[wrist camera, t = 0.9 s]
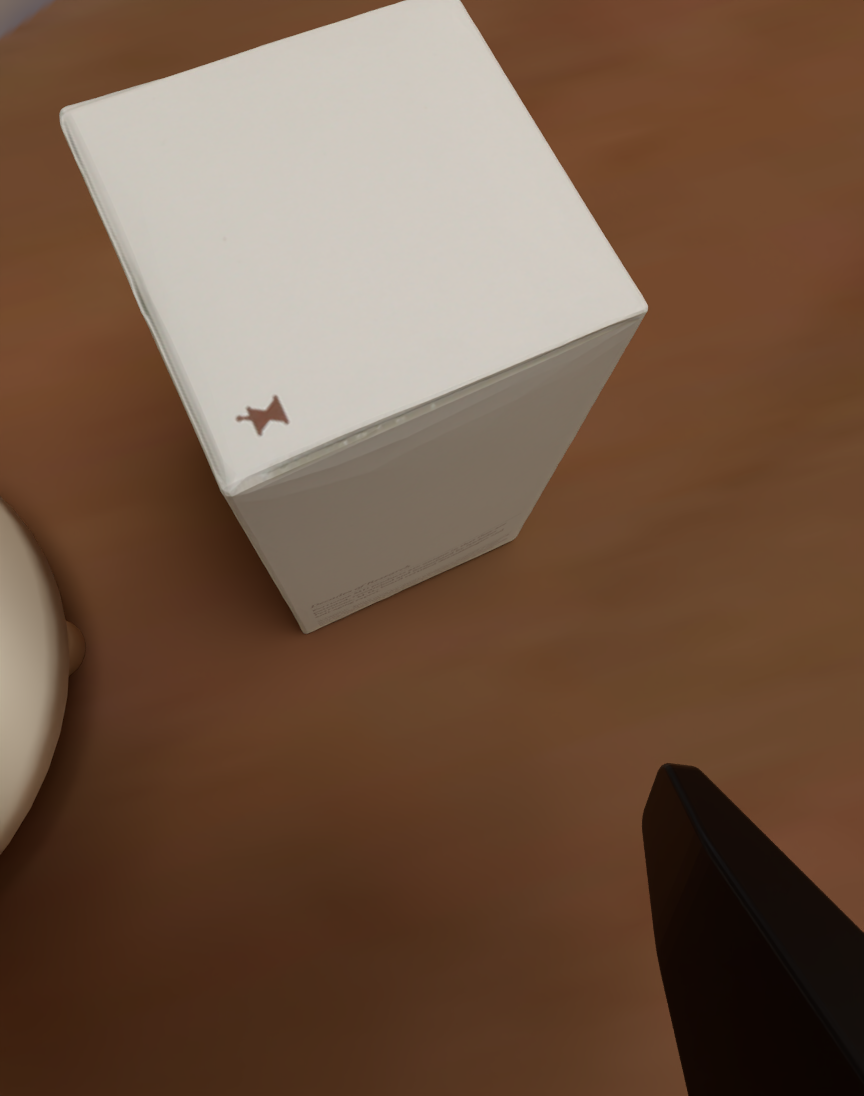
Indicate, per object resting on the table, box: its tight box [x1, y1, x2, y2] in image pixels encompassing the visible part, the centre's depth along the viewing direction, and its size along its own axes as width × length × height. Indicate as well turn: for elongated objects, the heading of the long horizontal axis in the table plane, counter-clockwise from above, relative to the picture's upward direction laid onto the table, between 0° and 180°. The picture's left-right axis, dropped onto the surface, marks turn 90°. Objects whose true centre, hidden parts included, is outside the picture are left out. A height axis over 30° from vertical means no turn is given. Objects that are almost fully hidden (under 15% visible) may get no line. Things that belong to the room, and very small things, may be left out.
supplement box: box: [59, 0, 648, 634], centre depth 18 cm, size 7×7×13 cm
